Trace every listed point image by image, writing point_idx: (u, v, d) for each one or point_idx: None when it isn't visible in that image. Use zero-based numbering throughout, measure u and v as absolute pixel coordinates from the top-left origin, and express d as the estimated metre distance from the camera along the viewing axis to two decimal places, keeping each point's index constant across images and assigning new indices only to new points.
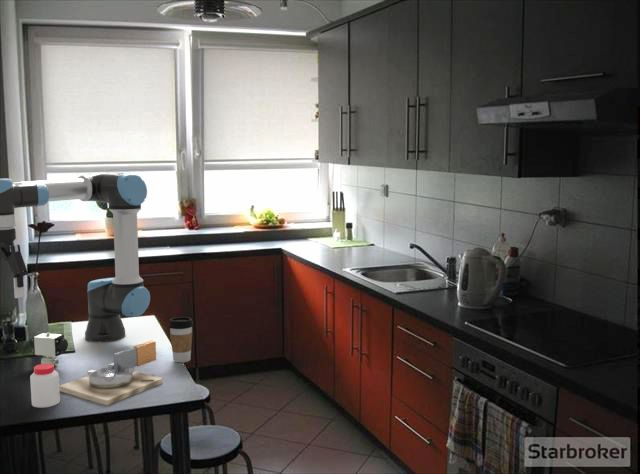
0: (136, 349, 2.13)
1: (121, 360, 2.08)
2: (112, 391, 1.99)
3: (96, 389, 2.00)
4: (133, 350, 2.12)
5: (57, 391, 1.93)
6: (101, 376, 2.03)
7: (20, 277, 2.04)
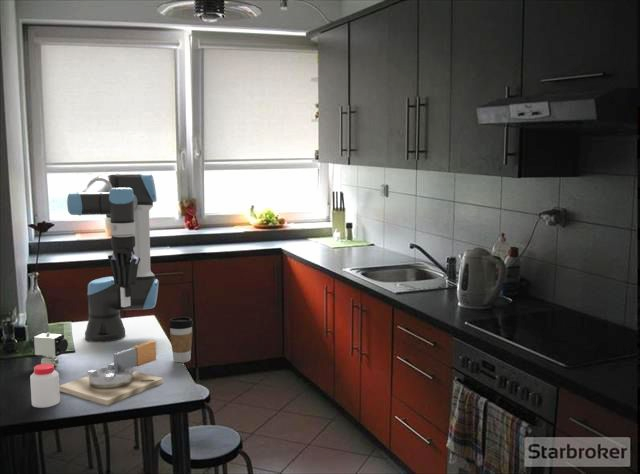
0: (136, 349, 2.13)
1: (121, 360, 2.08)
2: (112, 391, 1.99)
3: (96, 389, 2.00)
4: (133, 350, 2.12)
5: (57, 391, 1.93)
6: (101, 376, 2.03)
7: (128, 287, 2.16)
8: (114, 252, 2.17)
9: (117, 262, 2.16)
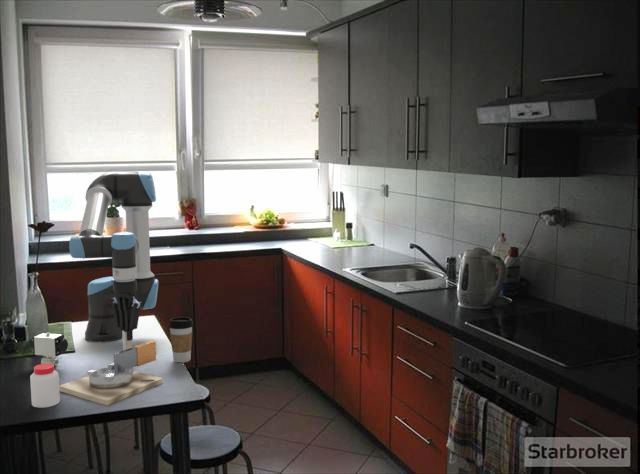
0: (136, 349, 2.13)
1: (121, 360, 2.08)
2: (112, 391, 1.99)
3: (96, 389, 2.00)
4: (133, 350, 2.12)
5: (57, 391, 1.93)
6: (101, 376, 2.03)
7: (130, 331, 2.18)
8: (116, 296, 2.19)
9: (119, 306, 2.18)
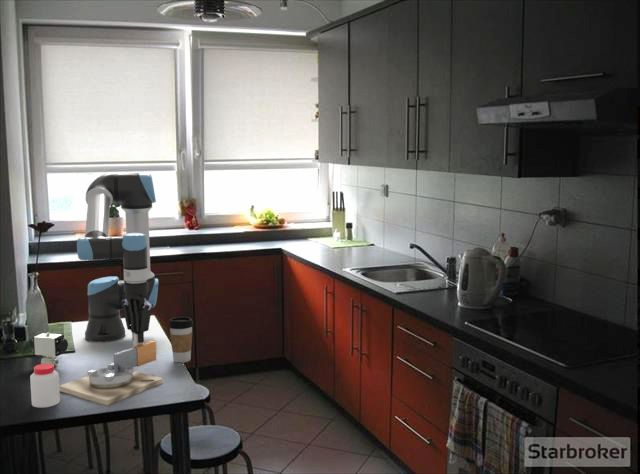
0: (136, 349, 2.13)
1: (121, 360, 2.08)
2: (112, 391, 1.99)
3: (96, 389, 2.00)
4: (133, 350, 2.12)
5: (57, 391, 1.93)
6: (101, 376, 2.03)
7: (141, 333, 2.15)
8: (127, 298, 2.16)
9: (130, 308, 2.15)
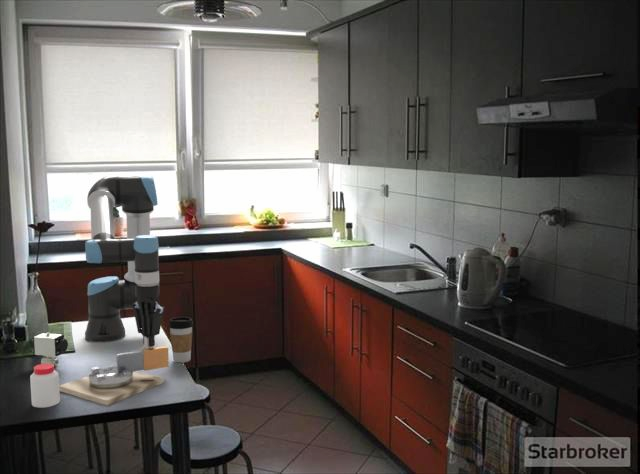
0: (142, 353, 2.10)
1: (123, 362, 2.07)
2: (112, 391, 1.99)
3: (96, 389, 2.00)
4: (138, 353, 2.09)
5: (57, 391, 1.93)
6: (99, 375, 2.04)
7: (152, 337, 2.12)
8: (138, 301, 2.12)
9: (141, 311, 2.11)
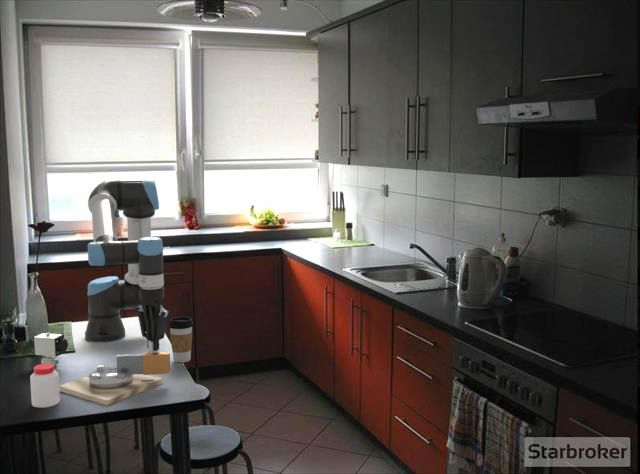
0: (142, 356, 2.06)
1: (122, 363, 2.05)
2: (112, 391, 1.99)
3: (96, 389, 2.00)
4: (138, 357, 2.06)
5: (57, 391, 1.93)
6: (99, 373, 2.06)
7: (156, 341, 2.08)
8: (142, 304, 2.08)
9: (145, 315, 2.07)
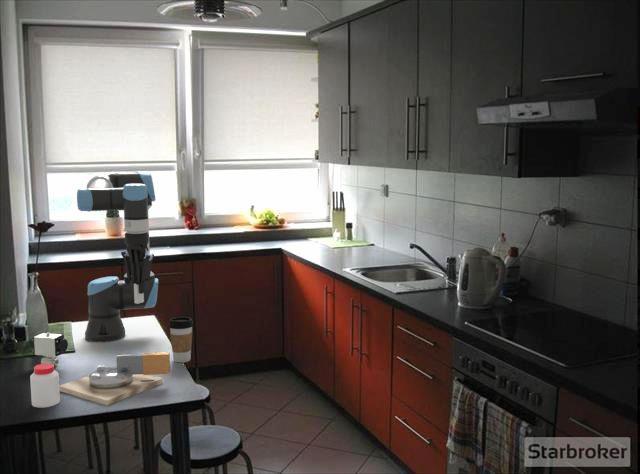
0: (142, 357, 2.06)
1: (122, 363, 2.05)
2: (112, 391, 1.99)
3: (96, 389, 2.00)
4: (138, 357, 2.06)
5: (57, 391, 1.93)
6: (99, 373, 2.06)
7: (142, 284, 2.16)
8: (127, 248, 2.16)
9: (131, 259, 2.15)
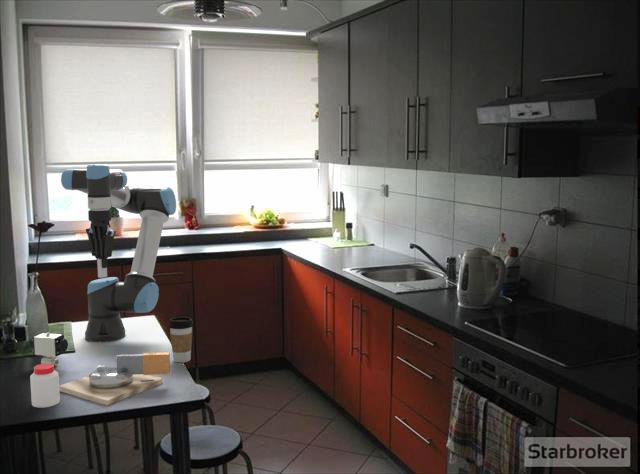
0: (142, 357, 2.06)
1: (122, 363, 2.05)
2: (112, 391, 1.99)
3: (96, 389, 2.00)
4: (138, 357, 2.06)
5: (57, 391, 1.93)
6: (99, 373, 2.06)
7: (105, 259, 2.28)
8: (91, 225, 2.29)
9: (94, 235, 2.28)
